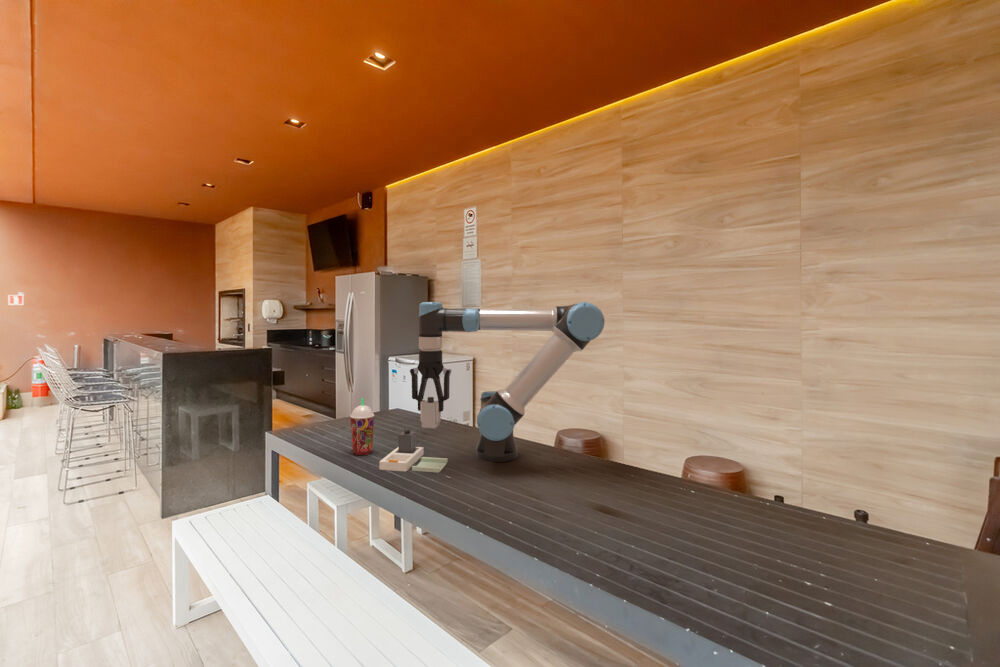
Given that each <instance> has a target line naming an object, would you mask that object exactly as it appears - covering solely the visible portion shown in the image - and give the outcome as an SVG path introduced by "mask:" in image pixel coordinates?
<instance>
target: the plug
mask: <svg viewBox="0 0 1000 667" xmlns="http://www.w3.org/2000/svg"><path fill="white" fill-rule="evenodd" d="M434 397H435V396H428V397H427V399H426V400H425V401H424V402H423V403H422V422H421V428H422V429H436V428H437V427H439V425H440V421H439V422H436V402H437V401H438V400H434V399H435V398H434Z"/></svg>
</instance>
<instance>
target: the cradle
mask: <svg viewBox="0 0 1000 667" xmlns="http://www.w3.org/2000/svg"><path fill="white" fill-rule="evenodd" d="M448 461H449V460H448V458H444V457H430V456H422V457H421V458H420V462H418V463H417V465H412V466H411V471H412V472H425V473H440V472H441V471H442V470H443V469H444V468H445V466H446V465H447V464H448Z"/></svg>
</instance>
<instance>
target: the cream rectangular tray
mask: <svg viewBox="0 0 1000 667" xmlns="http://www.w3.org/2000/svg"><path fill="white" fill-rule="evenodd" d="M416 436H417V434H416V431H411V428H410V427H406V428H404V429H403V431H402V432H400V433H398V439H397V440H398V446H397V448H395V449H394V450H392V451H391V452H390V453H388V454H387V455H386V456H384V457H383V458H382V459H381V460H380V461H378V462H379V465H378V466H379V470H381V471H394V472H407V471H409V470H410V469H411V468H412V466H414V465H415V464H416V463H417V462H418V461H419V460H421V457H424V454H425V453H424V451H425V450H424V448H425V447H424V446H423V447H422V446H416V445H417V444H416V442H417V441H416Z"/></svg>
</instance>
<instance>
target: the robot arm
mask: <svg viewBox="0 0 1000 667" xmlns="http://www.w3.org/2000/svg"><path fill="white" fill-rule="evenodd" d="M418 309H419V310H418V349H419V351H418V365H417V367H413V368H411V369H409V372H410V376H411V399H412V400H416V401H417V411H418V412H420V423H422V403H423V402H424V401H426V400H425V398H424V397H425V391H426V388H427V382H428V380H429V379H431V380H433V383H434V386H435V387H434V388H435V392H436V396H437V400H436V401H437V402H436V422H439V423H440V422H441V421H442V420H441V417H442V416H441V415H442V414H441V413H442V412H443V411H444V409H445V408H444V402H445V401H447V400H448V399H450V379H451V378H450V376H451V375H452V374H451V373H452V369H451V368H449V369H448V368H446V367H445V366H444V364H443V351H442V349H443V332H447V333H448V332H454V333H455V332H458V333H463V332H464V333H473V332H475V333H476V332H478V331H519V332H520V331H524V332H525V331H526V332H527V331H533V332H534V331H535V332H537V331H539V332H549V331H550V332H551V333H553V335H552V336H551V337H550V338H549V339H548V340H547V341H546V342H545V344H544V345H543V346H542V347H540V349H539V350H538V352H537V353H535V355H534V356H533V357H532V358H531V360H530V361H529V362H528V363H527V364H526V365H525V366H524V367H523V368H522V370H520V372H519V373H518V374H517V375H516V376H515V377H514V379H512V381H511V382H510V383H509V384H508V385H507V386H506V388H504V389H498V390H494V391H493V390H492V391H489V390H488V391H486V390H485V391H483V392H482V393H481V394H480V410H479V412H478V414H477V416H476V424H477V428H478V431H479V433H480V435H479V438H478V441H477V443H476V447H475V457H476V458H478V459H480V460H481V461H486V462H487V461H488V462H494V463H505V462H510V461H513V460H515V459H517V458H518V456H519V449H518V445H517V442H516V439H515V436H514V428H515V426H516V425H517V423H518V422H519V421H520V420H521V419H522V418H523V417H524V416H525V413H526V411H525V408H526V406H528V404H529V403H530V401H532V399H533V398H534V397H535V396H536V395H537V394H538V393H540V391H541V389H542V388H543V387H544V386H545V385H546V384H547V383H548V382H549V381H550V380H551V378H552V377H553V376H554V375H555V374H556V373H557V372H558V371H559V369H560V368H561V367H562V366H563V365H564V364H565V363H566V362H567V360H568V359H569V358H570V357H571V356H572V355H573V354H574V353H575V352H582V351H583V350H584V349H585V347H586V346H588V344H590V342H591V341H593V340H595V339H596V338H598V337H599V336H600V335H601V333H602V332H603V330H604V327H605V316H604V314H603V312H602V311H601V309H600V308H599V307H598V306H597V305H595V304H593V303H591V302H587V301H584V302H583V301H582V302H578V303H574V304H569V305H561V306H553V308H551V309H550V308H549V309H547V308H471V307H470V308H469V307H467V308H465V307H464V308H444V306H443V303H442V302H439V301H435V302H434V301H424V302H421V303H419V308H418ZM419 373H420V375H421V380H420V385H419V383H418V382H419V378H418V374H419ZM441 373H442V375H443V389H442V384H441V378H440V375H441Z"/></svg>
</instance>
